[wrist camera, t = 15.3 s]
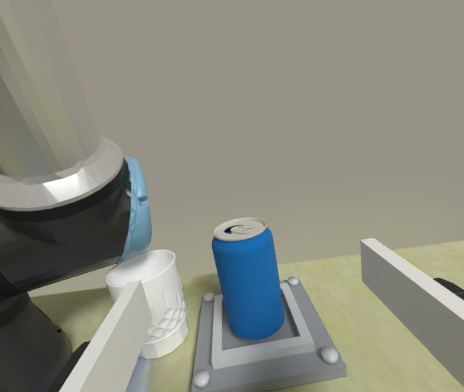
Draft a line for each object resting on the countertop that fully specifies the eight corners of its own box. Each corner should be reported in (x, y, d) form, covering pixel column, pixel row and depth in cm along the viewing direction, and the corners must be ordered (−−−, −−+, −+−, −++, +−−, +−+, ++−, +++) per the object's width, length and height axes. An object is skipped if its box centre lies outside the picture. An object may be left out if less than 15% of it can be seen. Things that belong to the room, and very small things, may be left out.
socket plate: (193, 404, 22) (188, 385, 22) (204, 302, 36) (201, 289, 35) (346, 376, 22) (344, 356, 22) (299, 285, 36) (297, 271, 35)
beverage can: (252, 298, 33) (236, 213, 30) (296, 315, 29) (282, 219, 26) (218, 330, 29) (196, 235, 26) (264, 357, 24) (243, 245, 21)
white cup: (186, 306, 36) (170, 243, 34) (200, 344, 29) (180, 268, 26) (130, 329, 33) (108, 263, 31) (129, 377, 26) (100, 296, 24)
